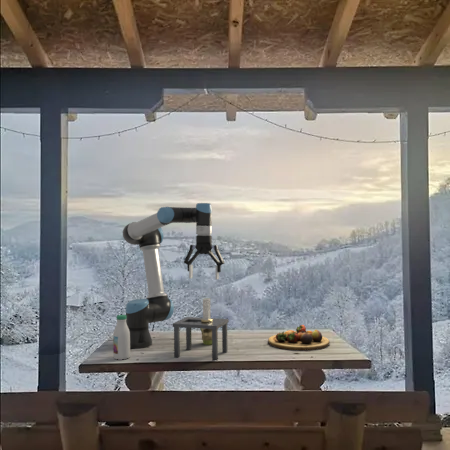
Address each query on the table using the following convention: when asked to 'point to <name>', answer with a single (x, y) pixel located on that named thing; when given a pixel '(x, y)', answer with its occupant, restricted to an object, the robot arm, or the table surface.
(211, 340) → the plant pot
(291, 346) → the wooden plate with food
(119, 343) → the milk bottle
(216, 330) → the shelf
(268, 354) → the table surface
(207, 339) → the brass hanging weight
